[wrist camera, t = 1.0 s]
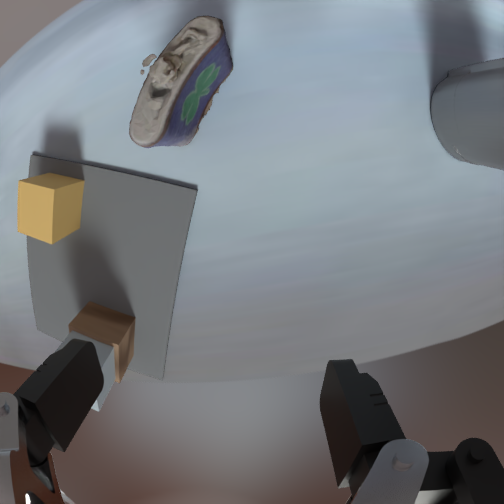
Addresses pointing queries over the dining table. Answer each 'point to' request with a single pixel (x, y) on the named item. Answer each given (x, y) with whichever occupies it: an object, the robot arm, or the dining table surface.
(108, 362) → the tower mid
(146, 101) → the flask
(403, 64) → the dining table surface
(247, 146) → the dining table surface
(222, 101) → the dining table surface
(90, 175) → the slate mat
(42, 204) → the ochre block
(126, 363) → the tower base
